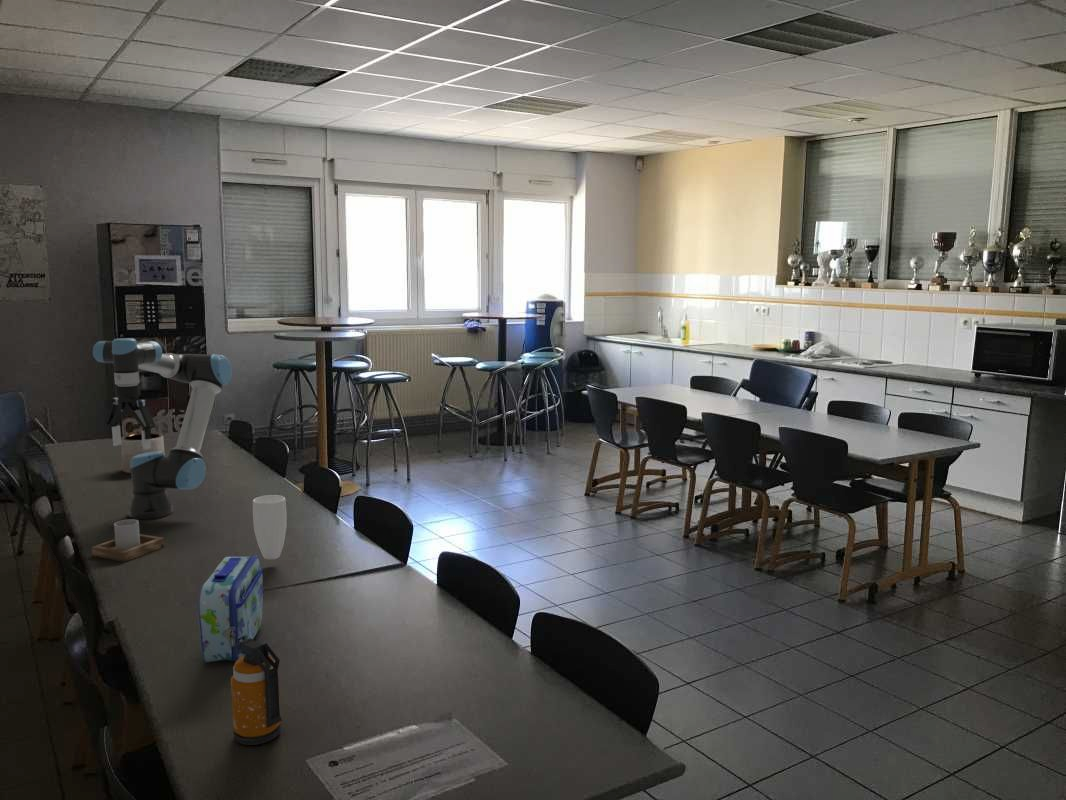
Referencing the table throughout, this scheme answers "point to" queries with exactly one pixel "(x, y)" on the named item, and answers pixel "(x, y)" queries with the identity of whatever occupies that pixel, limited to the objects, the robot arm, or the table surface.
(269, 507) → the cup
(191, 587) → the table surface
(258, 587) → the lunch box
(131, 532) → the cup
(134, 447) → the planter
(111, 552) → the tray
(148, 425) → the robot arm
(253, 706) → the canister
